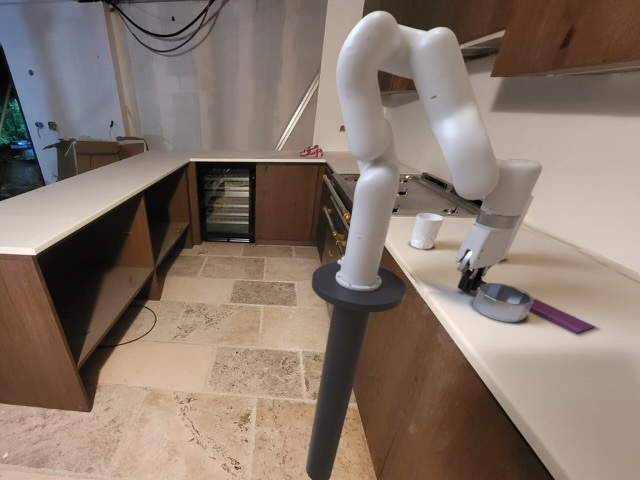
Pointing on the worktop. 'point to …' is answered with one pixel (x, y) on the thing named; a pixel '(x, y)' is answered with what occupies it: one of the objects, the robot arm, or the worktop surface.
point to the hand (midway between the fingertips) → (466, 289)
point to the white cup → (426, 230)
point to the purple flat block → (559, 317)
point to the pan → (502, 301)
